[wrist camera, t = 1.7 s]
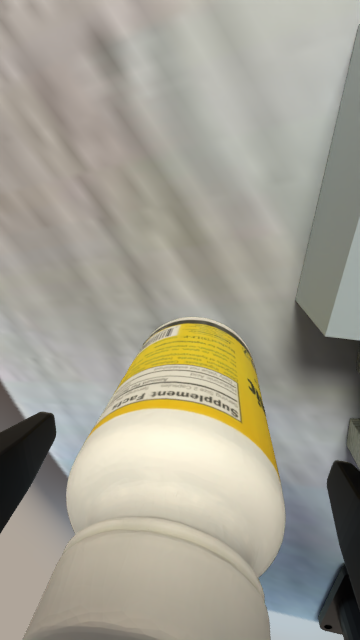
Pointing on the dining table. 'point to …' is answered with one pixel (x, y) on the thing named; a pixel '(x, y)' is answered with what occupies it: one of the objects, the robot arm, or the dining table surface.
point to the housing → (337, 225)
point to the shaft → (355, 431)
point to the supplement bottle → (171, 501)
